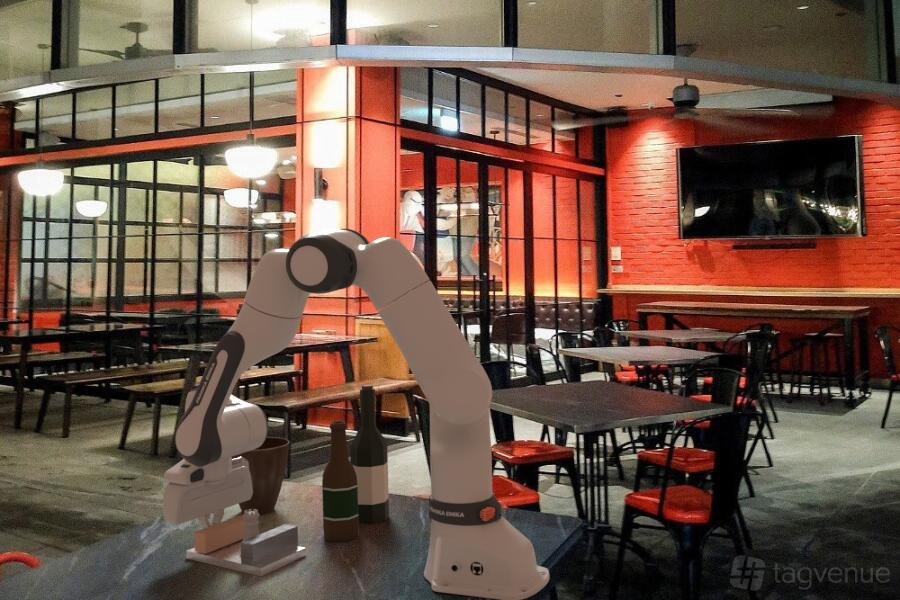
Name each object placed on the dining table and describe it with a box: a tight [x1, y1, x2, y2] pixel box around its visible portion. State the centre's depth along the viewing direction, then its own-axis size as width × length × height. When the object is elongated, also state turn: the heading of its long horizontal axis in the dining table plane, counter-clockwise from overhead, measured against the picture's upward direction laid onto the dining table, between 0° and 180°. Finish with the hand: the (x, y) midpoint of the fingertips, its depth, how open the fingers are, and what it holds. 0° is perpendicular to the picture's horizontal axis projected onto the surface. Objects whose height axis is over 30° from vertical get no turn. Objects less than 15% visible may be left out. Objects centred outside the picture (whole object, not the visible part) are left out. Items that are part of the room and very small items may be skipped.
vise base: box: [185, 523, 307, 577], centre depth 146 cm, size 20×12×6 cm, turn 59°
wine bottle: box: [349, 384, 390, 525], centre depth 169 cm, size 8×8×30 cm
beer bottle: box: [321, 420, 360, 543], centre depth 157 cm, size 8×8×24 cm
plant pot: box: [232, 436, 290, 515], centre depth 177 cm, size 15×15×16 cm
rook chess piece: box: [240, 509, 261, 552], centre depth 144 cm, size 4×4×8 cm
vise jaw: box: [194, 514, 245, 554], centre depth 149 cm, size 3×12×4 cm, turn 149°
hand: (211, 533), depth 151 cm, fingers closed
